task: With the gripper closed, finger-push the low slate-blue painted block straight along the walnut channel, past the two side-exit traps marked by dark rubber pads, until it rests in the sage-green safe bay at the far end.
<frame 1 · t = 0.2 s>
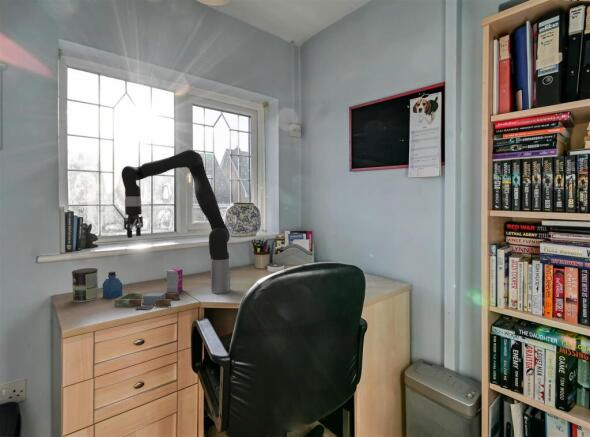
hand: (134, 236, 159), 29 cm above the table, fingers open, 8 cm apart
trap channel: (148, 302, 143), on the table
coffee can: (86, 299, 149), on the table
perfume bottle: (112, 296, 154), on the table
supplement box: (174, 291, 161), on the table
slate block: (154, 303, 143), resting in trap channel
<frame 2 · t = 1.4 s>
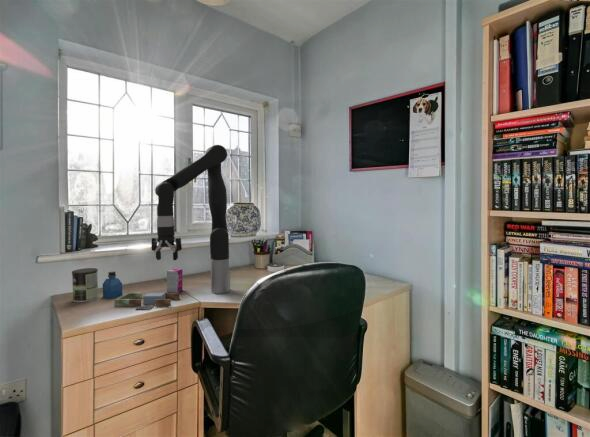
hand: (166, 259, 145), 19 cm above the table, fingers open, 8 cm apart
nothing on the table moved.
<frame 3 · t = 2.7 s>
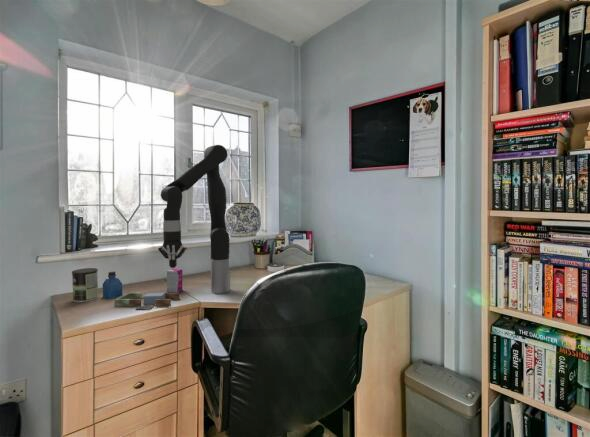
hand: (173, 267, 142), 16 cm above the table, fingers closed
nothing on the table moved.
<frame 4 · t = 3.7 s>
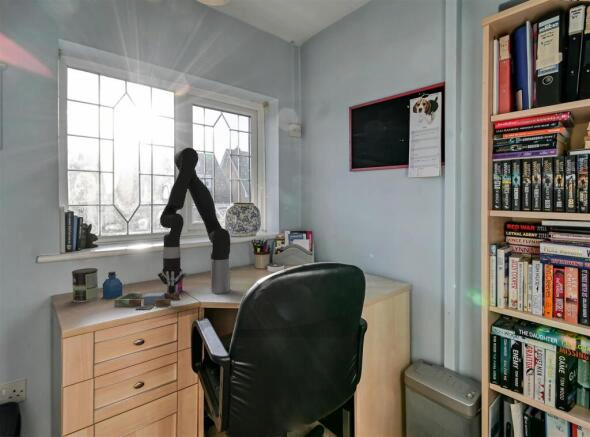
hand: (171, 293, 143), 4 cm above the table, fingers closed
nothing on the table moved.
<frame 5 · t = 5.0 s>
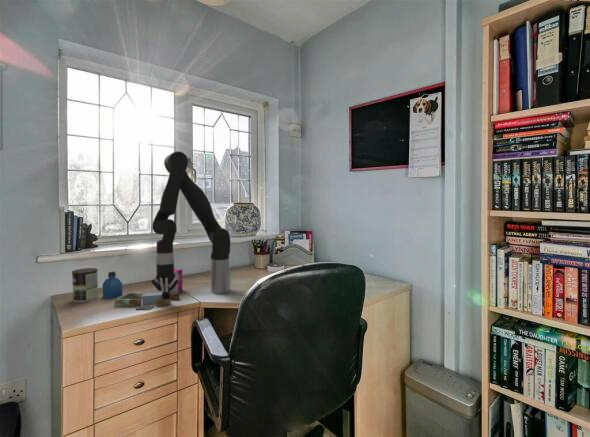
hand: (166, 299, 142), 2 cm above the table, fingers closed
slate block: (153, 302, 143), resting in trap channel, touching gripper
everything else where it was.
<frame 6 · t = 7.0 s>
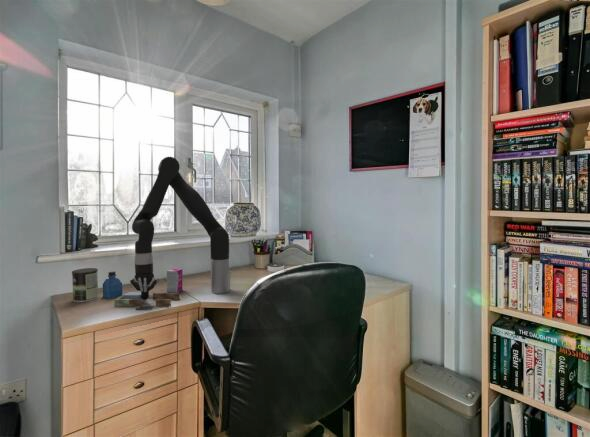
hand: (145, 299, 143), 2 cm above the table, fingers closed
slate block: (134, 301, 145), resting in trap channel
everything else where it was.
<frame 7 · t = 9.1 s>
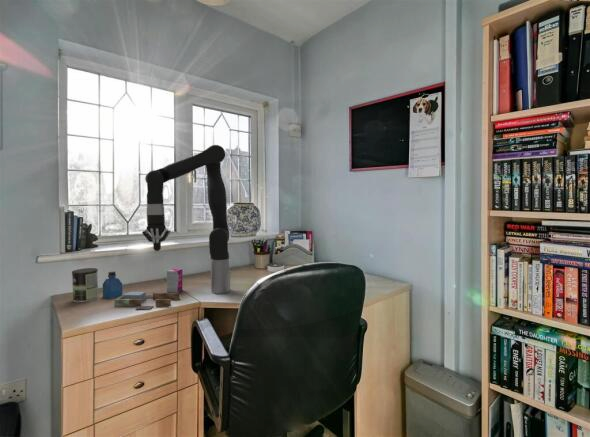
hand: (157, 250, 145), 24 cm above the table, fingers closed
nothing on the table moved.
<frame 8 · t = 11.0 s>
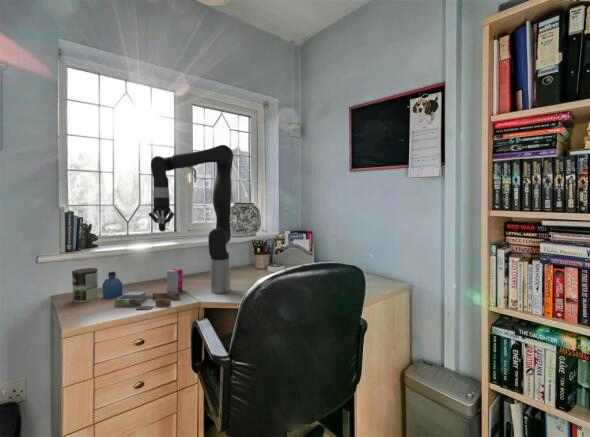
hand: (162, 231, 155), 32 cm above the table, fingers closed
nothing on the table moved.
at the end: slate block inside the target area (1.8 cm from its centre), resting in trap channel; slate block tilted 0°; slate block moved 10.5 cm from its start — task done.
